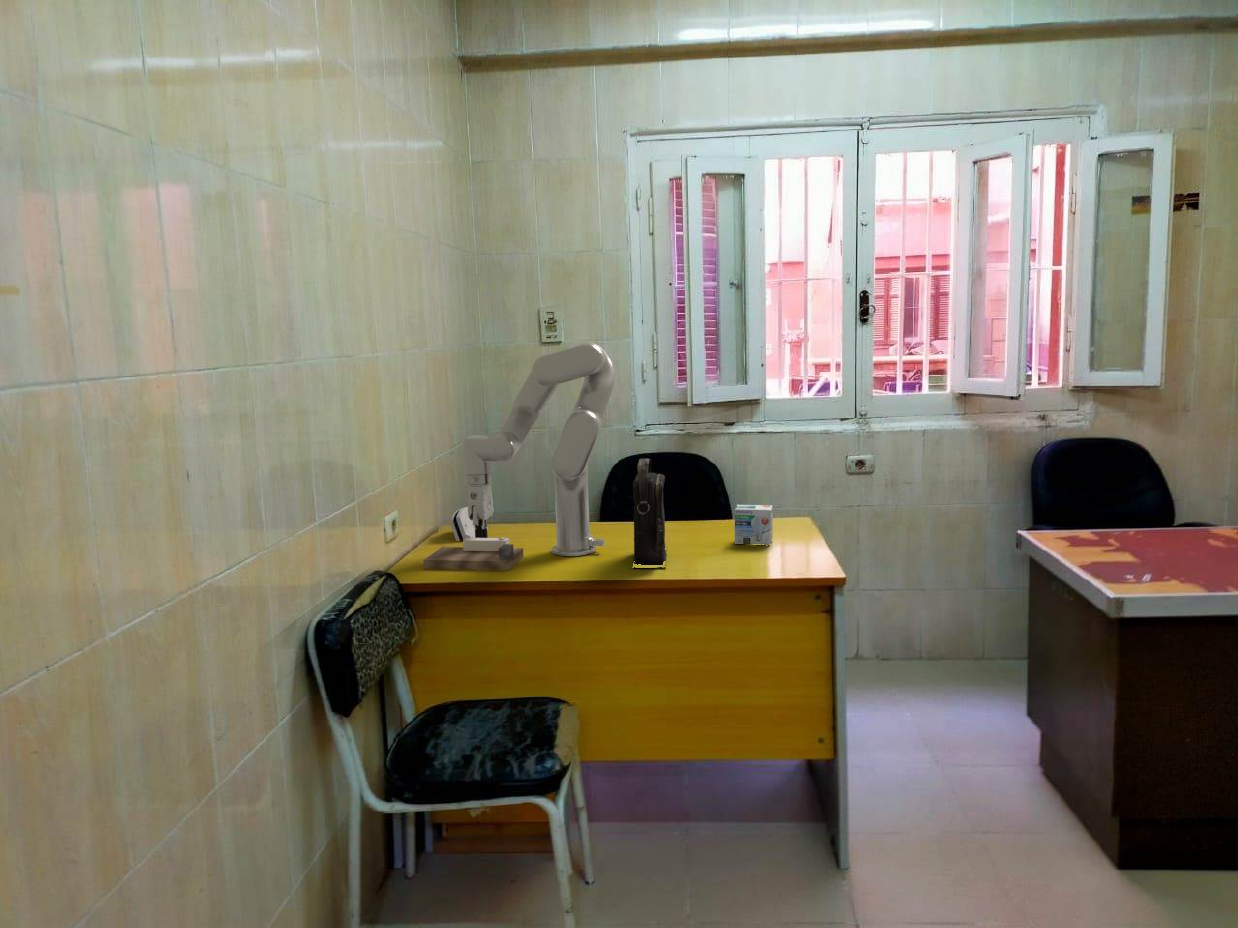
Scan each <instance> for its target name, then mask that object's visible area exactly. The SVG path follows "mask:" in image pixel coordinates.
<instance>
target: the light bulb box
mask: <svg viewBox="0 0 1238 928" xmlns="http://www.w3.org/2000/svg"><path fill="white" fill-rule="evenodd" d="M773 507H774V506H773V504H767V505H764V504H736V507H735V508H734V545H735V544H761V545H762V544H764V545H770V544H771V545H772V543H771V542H773V541H772V539H773V537H774V536H773V528H774V527H773V526H774V525H773V522H774V519H773V516H774V515H773V514H774V513H773V511H774V508H773Z"/></svg>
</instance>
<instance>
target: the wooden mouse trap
mask: <svg viewBox="0 0 1238 928" xmlns="http://www.w3.org/2000/svg"><path fill="white" fill-rule="evenodd" d="M523 558H524V548H522V547H514V544H513V543H512V544H511V543H509V544H504V545H503V546H501V547H500V548H499V551H464V549H463V546H462V547H461V546H458V547H457V546H441V547H440V548H438V549H437V550H436V551H434V552H432V553H431V554H430V555H428V556H427V557H426V558H424V559H423V569H424V570H425V569H426V570H428V569H429V570H463V571H464V570H465V571H466V570H468V571H469V570H470V571H471V570H472V571H476V570H477V571H510V570H511V569H512V568H513V567H514V566H515V565H516V564H517V563H519V562H520V561H522V559H523Z"/></svg>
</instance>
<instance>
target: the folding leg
mask: <svg viewBox="0 0 1238 928" xmlns="http://www.w3.org/2000/svg"><path fill="white" fill-rule="evenodd" d="M504 544H510V538H508V537H507V538H506V537H503V536H502V537H488V538H466V539H464V540H463V539H462V545H463V546H462V547H463V549H464V551H499V548H500V547H501V546H503V545H504Z"/></svg>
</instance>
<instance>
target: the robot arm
mask: <svg viewBox="0 0 1238 928" xmlns="http://www.w3.org/2000/svg"><path fill="white" fill-rule="evenodd" d="M583 377H584V380H583V384H582V385H581V389H580V392H579V394H578V397H577V399H576V402H575V405H574V407H573V409H572V410H571V412H570V414H569V415H568V417H567V419H566V421H565V423H564V425H563V429H562V432H561V435H560V437H559V439H558V441H557V444H556V447H555V449H554V452H553V454H552V457H551V461H550V466H551V470H552V472H553V475H554V504H555V505H554V506H555V526H556V544H555V545H553V546H552V547H551V552H552V554H553V555H556V556H563V557H579V556H586V555H589V554H593V553H594V552H595V551H596V550H597V549H596V546H597V547H605V543H606V542H605V539H603V538H599V537H598V538H595V537H593V533H591V532H590V529H591V528H590V505H589V503H590V502H589V460H590V458H591V455H592V452H593V450H594V447H595V445H596V442H597V439H598V437H599V434H600V431H601V427H602V421H603V418H604V416H605V413H606V410H607V407H608V406H609V402H610V398H611V396H612V393H613V390H614V385H615V377H616V375H615V368H614V365H613V363H612V360H611V359H610V356H609V355H608V354H607V352H606V351H605V350H604V349H603V348H602V347H601V346H600V345H598V344H597V343H595V342H585V343H582V344H580V345H576V346H573V347H570V348H566V349H563V350H559V351H556V352H552V353H547V354H543V355H540V356H539V357H537V359H536V360H534V362H533V365H532V368H531V370H530V373H529V374H528V376H527V378H526V379H525V381H524V383H523V385H522V386H521V388H520V390H519V391H518V392H517V394H516V396H515V397H514V400H513V403H512V404H513V405H512V408H511V410H510V413H509V415H508V417H507V418H506V420H505V421H504V423H503V424H502V427H501V428H500V430H499V432H498V433H497V435H496V436H492V437H489V436H486V435H477V434H476V435H468V436H466V437H464V438H463V440H462V449H463V467H464V469H463V470H464V485H465V486H467V507H468V516H469V519H470V520H473V525H474V528H475V538H489V536H488V534H489V533H488V530H487V528H488V519H489V518H490V517H492V516H493V515H494V513H495V512H494V511H495V509H494V508H495V507H494V499H493V489H492V484H493V481H492V463H491V462H493V463H507V462H509V461H510V460H512V459H513V458H514V457H515V456H516V454H517V453H518V452H519V450H520V448H521V446H522V445H523V443H524V442H525V440H526V438H527V436H528V435H529V433H530V432H531V430H532V428H533V426H534V425H535V423H536V422H537V421H538V419H539V418H540V417H541V415H542V413H543V411H544V410H545V408H546V406H547V405H548V403H549V401H550V399H552V396H553V394H554V393H555V392H556V390H557V388H558V386H559V384H564V383H567V382H571V381H574V380H577V379H581V378H583Z"/></svg>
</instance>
